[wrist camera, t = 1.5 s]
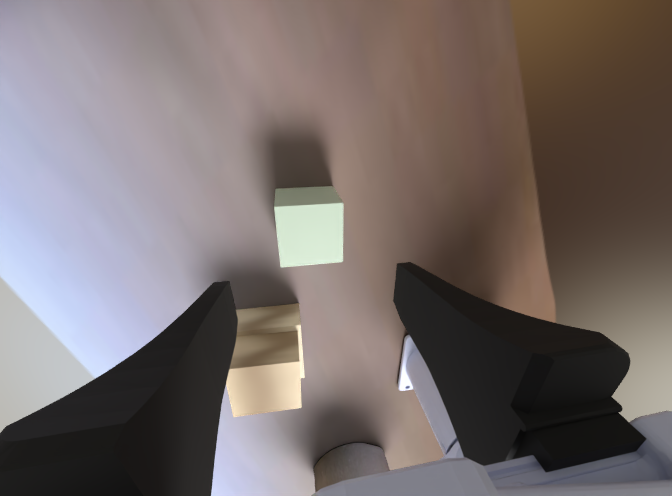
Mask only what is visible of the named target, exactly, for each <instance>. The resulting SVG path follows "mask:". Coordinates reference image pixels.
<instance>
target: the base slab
mask: <svg viewBox="0 0 672 496" xmlns="http://www.w3.org/2000/svg"><path fill="white" fill-rule="evenodd" d="M236 313H237V317H238V326H237V336H246V335H257V334H267V333H278V332H289V331H298V344H299V360H300V378H304V364H303V350H302V337H301V323H300V310H299V303H297V304H287V305H278V306H268V307H258V308H249V309H239V310H236Z"/></svg>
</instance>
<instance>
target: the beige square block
mask: <svg viewBox="0 0 672 496" xmlns="http://www.w3.org/2000/svg"><path fill="white" fill-rule="evenodd" d="M226 385H227V390H228V394H229V399H230V403H231V408H232V413H233V417H238V416H245V415H253V414H260V413H267V412H275V411H282V410H289V409H297V408H302V407H301V383H300V360H299V344H298V331H289V332H278V333H267V334H257V335H246V336H236V343H235V348H234V352H233V356H232V361H231V365H230V369H229V373H228V377H227V381H226Z"/></svg>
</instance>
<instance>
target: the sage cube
mask: <svg viewBox="0 0 672 496" xmlns="http://www.w3.org/2000/svg"><path fill="white" fill-rule="evenodd" d="M274 211H275V220H276V229H277V238H278V247H279V257H280V266H281V267H292V266H303V265H314V264H325V263H337V262H343V202H342V200H341V198H340V197H339V195H338V193H337V192H336V190H335V189H334V187H333V186H322V187H301V188H280V189H275V202H274Z"/></svg>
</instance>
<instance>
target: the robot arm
mask: <svg viewBox="0 0 672 496" xmlns="http://www.w3.org/2000/svg"><path fill="white" fill-rule="evenodd" d="M393 301H394V303H395V306H396V309H397V311H398V314H399V316H400V319H401V321H402V322H403V324H404V326H405V328H406V330H407V331H408V333H409V335H407V336H406V337H405V339H404V346H403V353H402V360H401V367H400V374H399V381H398V388H399V390H401V391H404V390H410V389H414V391H415V393H416V395H417V397H418V400H419V402H420V404H421V406H422V408H423V411H424V413H425V415H426V417H427V419H428V421H429V424H430V426H431V428H432V430H433V432H434V434H435V437H436V439H437V441H438V443H439V445H440V448H441V450H442V452H443V454H444V457H442V458H441V459H440V460H438V461H433V462H428V463H424V464H419V465H414V466H410V467H405V468H400V469H396V470H391V471H386V472H382V473H377V474H372V475H368V476H363V477H358V478H354V479H349V480H344V481H341V482H338V483H335V484H333V485H330V486H327V487H324V488H321V489H320V490H318V491H317V492H316V493H314V494H313V495H312V496H672V412H671V411H664V412H659V413H655V414H650V415H645V416H641V417H638V418H635V419H634V420H632V421H631V422H628V421H627V420H626V419H625V418H623V417H622V416H621V415H620V414H619V413H618V412H621V411H622V406H621V405H620V404H619V403H617V401H615V400H614V399H613V398H612V397H611V396H612V395H613V393H614V392H615V390H616V389H617V388H618V386H619V385H620V383H621V382H622V380H623V378H624V377H625V376H626V374H627V372H628V370H629V366H630V358H629V354H628V353H627V352H626V351H625V350H624V349H622V348H621V347H619V346H618V345H617V344H615V343H614V342H613V341H611V340H610V339H608V338H607V337H606V336H604V335H603V334H601V333H600V332H595V331H590V330H585V329H580V328H575V327H570V326H565V325H561V324H557V323H553V322H549V321H545V320H541V319H537V318H534V317H531V316H527V315H524V314H521V313H518V312H515V311H512V310H509V309H506V308H503V307H500V306H497V305H495V304H492V303H490V302H487V301H485V300H482V299H480V298H478V297H476V296H473V295H471V294H469V293H467V292H465V291H463V290H461V289H459V288H457V287H455V286H453V285H451V284H449V283H447V282H446V281H444V280H442V279H440V278H438V277H437V276H435V275H433V274H431V273H429V272H428V271H426V270H424V269H422V268H421V267H419V266H417V265H415V264H413V263H411V262H408V263H398V264H397V270H396V280H395V290H394V300H393ZM237 326H238V317H237V313H236V308H235V304H234V300H233V295H232V291H231V287H230V282H229V281H224V282H215V283H213V284H212V285H211V286H210V287H209V288H208V289H207V290H206V291H205V292H204V293H203V294H202V295H201V296H200V297H199V298H198V299H197V300H196V301H195V302H194V303H193V304H192V305H191V306H190V307H189V308H188V309H187V310H186V311H185V312H184V313H183V314H182V315H180V316H179V317H178V318H177V319H176V320H175V321H174V322H173V323H172V324H170V325H169V326H168V327H167V328H166V329H165V330H164V331H163V332H161V333H160V334H159V335H158V336H157V337H155V338H154V339H153V340H152V341H150V342H149V343H148V344H146V345H145V346H144V347H142V348H141V349H140V350H138V351H137V352H136V353H134V354H133V355H131V356H130V357H128V358H127V359H125V360H124V361H122V362H121V363H119V364H118V365H116V366H115V367H113V368H112V369H110V370H109V371H107V372H106V373H104V374H102V375H101V376H99V377H98V378H96V379H94V380H93V381H91V382H89V383H88V384H86V385H84V386H82V387H81V388H79V389H77V390H75V391H74V392H72V393H70V394H69V395H66V396H65V397H63V398H61V399H60V400H57V401H56V402H53V403H52V404H50V405H48V406H46V407H44V408H42V409H40V410H38V411H36V412H34V413H32V414H30V415H28V416H26V417H24V418H22V419H20V420H18V421H16V422H14V423H12V424H10V425H8V426H6V427H5V428H4V429H3V431H2V432H1V433H0V496H211V489H212V479H213V469H214V459H215V451H216V442H217V434H218V426H219V418H220V411H221V404H222V399H223V394H224V389H225V385H226V381H227V377H228V373H229V369H230V365H231V361H232V356H233V352H234V348H235V343H236V336H237Z"/></svg>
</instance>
